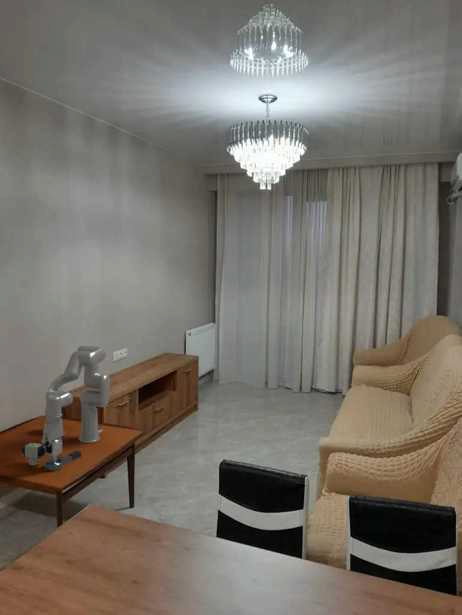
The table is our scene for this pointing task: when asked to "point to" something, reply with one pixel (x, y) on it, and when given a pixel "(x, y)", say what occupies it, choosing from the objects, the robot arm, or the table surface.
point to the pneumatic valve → (33, 452)
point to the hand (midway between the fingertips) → (53, 450)
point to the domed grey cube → (55, 447)
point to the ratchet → (60, 461)
